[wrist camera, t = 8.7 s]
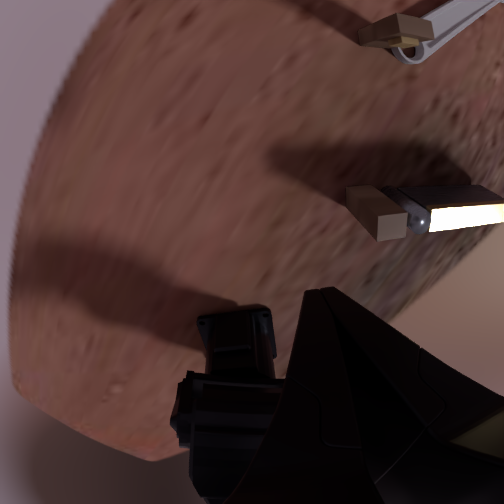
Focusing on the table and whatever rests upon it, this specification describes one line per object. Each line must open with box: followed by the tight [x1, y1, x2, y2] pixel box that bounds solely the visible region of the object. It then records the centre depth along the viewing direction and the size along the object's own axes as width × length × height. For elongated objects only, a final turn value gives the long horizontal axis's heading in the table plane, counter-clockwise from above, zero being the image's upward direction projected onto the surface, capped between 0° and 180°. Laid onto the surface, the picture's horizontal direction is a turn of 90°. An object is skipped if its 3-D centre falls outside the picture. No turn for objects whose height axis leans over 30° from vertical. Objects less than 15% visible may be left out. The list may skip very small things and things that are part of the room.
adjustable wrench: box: [391, 0, 504, 64], centre depth 10 cm, size 25×6×2 cm, turn 129°
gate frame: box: [346, 13, 435, 242], centre depth 15 cm, size 14×3×6 cm, turn 178°
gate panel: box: [380, 185, 504, 234], centre depth 17 cm, size 11×2×5 cm, turn 97°
